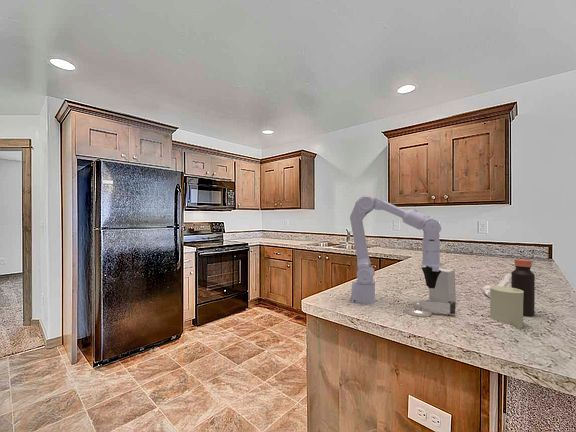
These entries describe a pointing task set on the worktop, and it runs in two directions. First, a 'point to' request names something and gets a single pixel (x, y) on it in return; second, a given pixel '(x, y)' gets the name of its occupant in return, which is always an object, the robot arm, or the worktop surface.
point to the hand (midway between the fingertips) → (430, 287)
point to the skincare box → (444, 287)
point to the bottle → (524, 284)
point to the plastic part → (502, 283)
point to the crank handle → (429, 308)
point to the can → (507, 305)
